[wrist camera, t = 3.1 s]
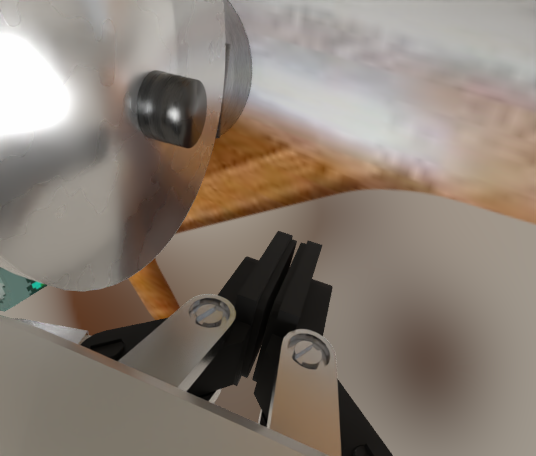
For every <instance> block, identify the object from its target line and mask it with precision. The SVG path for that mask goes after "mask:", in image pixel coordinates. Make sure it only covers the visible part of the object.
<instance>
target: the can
mask: <svg viewBox="0 0 536 456" xmlns="http://www.w3.org/2000/svg"><path fill="white" fill-rule="evenodd" d="M46 286H47V285H46V284H43V283H40V282H37V281H34V280H31V279H28V278H25V277H22V276H19V275H16V274H13V273H11V272H9V271H7V270H5V269H3V268H1V267H0V311H6V310H8V309H10V308H11V307H13V306H15V305H16V304H18V303H20V302H21V301H23V300H24V299H26V298H28V297H29V296H31V295H32V294H34V293H36V292H37V291H39V290H41V289H42V288H44V287H46Z"/></svg>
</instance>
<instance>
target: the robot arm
mask: <svg viewBox="0 0 536 456" xmlns="http://www.w3.org/2000/svg"><path fill="white" fill-rule="evenodd" d="M296 243H297V241H295V240H292V235H289V234H286V233H283V232H280V231H278V232H277V234H276V235H275V237H274V238H273V240H272V241H271V243H270V244H269V246H268V247H267V249H266V251H265V252H264V254H263V255H262V257H261V258H260V260H256V259H253V258H250V257H245V259H244V260H243V261H242V263H241V264H240V265H239V267H238V268H237V270H236V271H235V272H234V274H233V275H232V276H231V278H230V279H229V280H228V282H227V283H226V284H225V286H224V287H223V289H222V290H221V291H220V293H219V294H218V295H212V294H205V295H199V296H196V297H194V298H192V299H191V300H189V301H188V302H187V303H185V304H184V305H183V306H182V307H181V308H180V309H178V310H177V311H176V312H175V313H174V314H173V315H171V316H170V317H169V318H165V319H160V320H155V321H151V322H146V323H141V324H136V325H131V326H126V327H121V328H117V329H112V330H107V331H103V332H100V333H97V334H95V335H93V336H89V335H88V331H85V330H80V329H74V328H69V327H64V326H58V325H52V324H47V323H42V322H37V321H31V320H26V319H14V318H9V317H5V316H1V315H0V456H393V455H392V454H391V453H390V451H389V450H388V448H387V447H386V445H385V444H384V443H383V441H382V440H381V439H380V437H379V436H378V434H377V433H376V431H375V430H374V429H373V427H372V426H371V425H370V423H369V422H368V420H367V419H366V418H365V417H364V415H363V414H362V412H361V411H360V409H359V408H358V407H357V405H356V404H355V403H354V401H353V400H352V398H351V397H350V396H349V394H348V393H347V391H346V390H345V389H344V387H343V386H342V384H341V383H340V382H339V380H338V379H337V364H336V355H335V351H334V349H333V347H332V345H331V344H330V343H329V342H328V341H327V339H326V338H324V337H323V332H324V327H325V322H326V317H327V312H328V307H329V302H330V297H331V292H332V286H331V285H328V284H325V283H322V282H319V281H316V280H313V279H312V277H313V273H314V270H315V267H316V263H317V260H318V257H319V254H320V251H321V248H322V245H320V244H317V243H314V242H311V241H308V242H307V244H305V243H301V244H300V246H299V248H298V250H297V253H296V255H295V257H294V259H293V261H292V264H291V260H292V257H293V254H294V250H295V246H296ZM290 264H291V266H290ZM261 345H262V346H261ZM260 348H261V349H260ZM259 350H260V353H259V357H258V361H257V364H256V368H255V372H254V376H253V380H254V381H256V382H257V384H256V387H255V391H254V395H255V397H256V399H257V401H258V403H259V405H260V407H261V412H260V415H259V421H258V423H255V422H253V421H251V420H249V419H246V418H244V417H242V416H240V415H238V414H235V413H233V412H231V411H228V410H226V409H224V408H222V407H220V406H217V405H215V404H214V402H215V401H216V399H217V398H218V396H219V394H220V391H221V389H222V388H224V387H227V386H230V385H233V384H234V385H236V386H237V385H238V382H239V380H240V378H241V376H244V377H246V378H247V377H248V375H249V373H250V371H251V369H252V366H253V364H254V362H255V359H256V357H257V354H258V352H259Z"/></svg>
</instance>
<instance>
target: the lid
mask: <svg viewBox="0 0 536 456" xmlns="http://www.w3.org/2000/svg"><path fill="white" fill-rule="evenodd" d="M230 49H231V44H227V43H226V38H225V15H224V4H223V0H0V267H1V268H3V269H5V270H7V271H9V272H11V273H13V274H16V275H19V276H22V277H25V278H28V279H31V280H34V281H37V282H40V283H43V284H46V285H50V286H53V287H56V288H60V289H64V290H73V291H89V290H97V289H102V288H105V287H109V286H112V285H115V284H117V283H119V282H121V281H123V280H125V279H127V278H129V277H131V276H132V275H134V274H135V273H137V272H138V271H140V270H141V269H143V268H144V267H145V266H146V265H147V264H148V263H150V262H151V261H152V260H153V259H154V258H155V257H156V256H157V255H158V254H159V253H160V252H161V250H162V249H163V248H164V247H165V246H166V245H167V243H168V242H169V241H170V240H171V238H172V237H173V236H174V234H175V233H176V231H177V230H178V228H179V227H180V225H181V224H182V222H183V220H184V219H185V217H186V215H187V213H188V211H189V210H190V208H191V206H192V204H193V202H194V200H195V197H196V195H197V193H198V190H199V188H200V186H201V183H202V180H203V178H204V175H205V172H206V169H207V166H208V163H209V160H210V157H211V153H212V149H213V146H214V142H215V138H220V134H221V126H222V117H223V109H224V100H225V92H226V83H227V75H228V66H229V58H230Z"/></svg>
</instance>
